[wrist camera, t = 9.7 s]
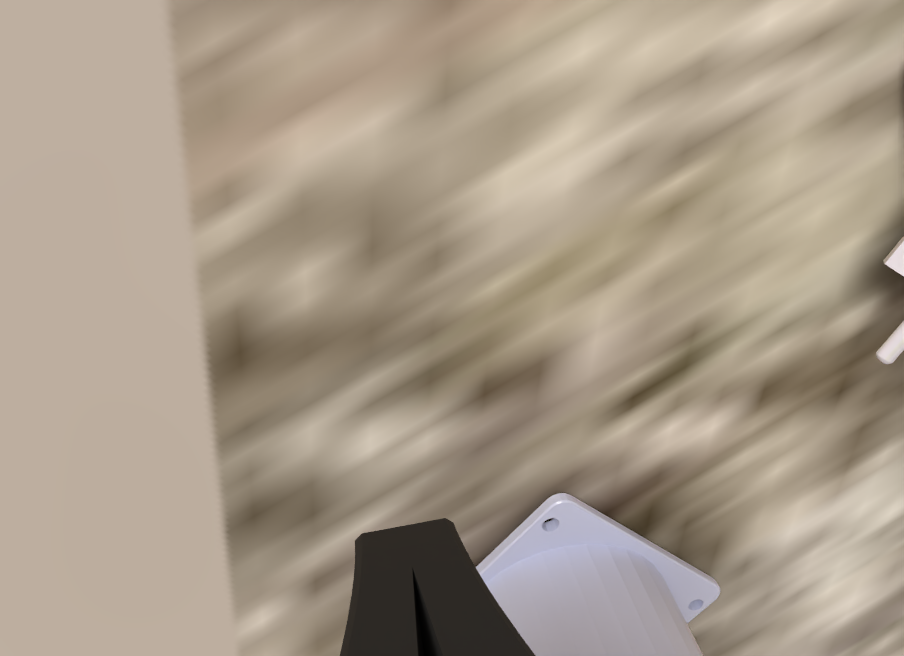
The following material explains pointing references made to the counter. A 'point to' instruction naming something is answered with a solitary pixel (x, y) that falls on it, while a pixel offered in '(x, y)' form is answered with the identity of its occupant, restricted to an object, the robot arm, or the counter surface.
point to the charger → (900, 340)
